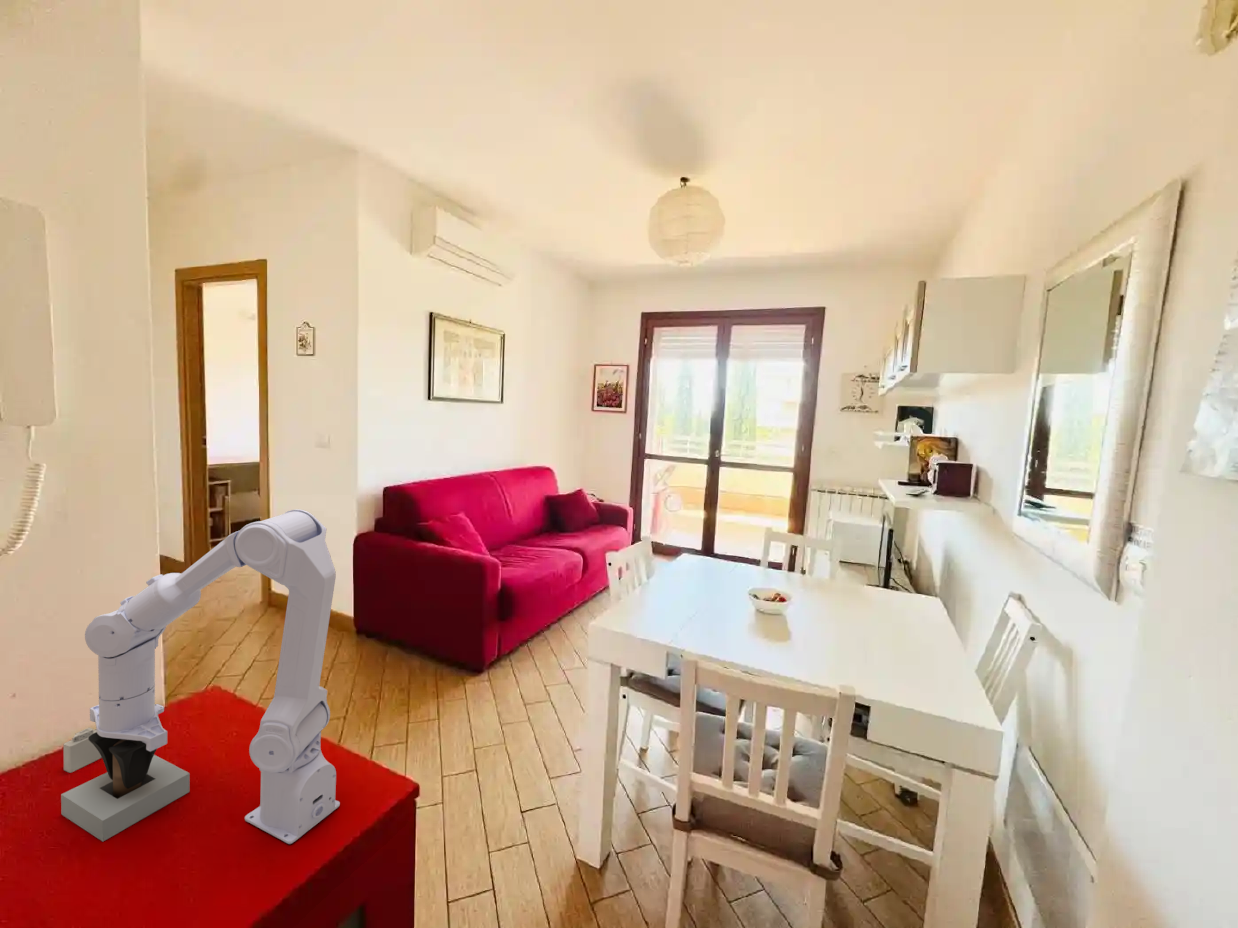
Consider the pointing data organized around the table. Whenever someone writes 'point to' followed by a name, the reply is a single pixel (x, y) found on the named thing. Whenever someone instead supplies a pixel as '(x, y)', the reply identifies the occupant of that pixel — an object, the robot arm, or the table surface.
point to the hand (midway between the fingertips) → (127, 779)
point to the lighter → (80, 751)
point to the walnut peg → (120, 779)
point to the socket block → (123, 799)
